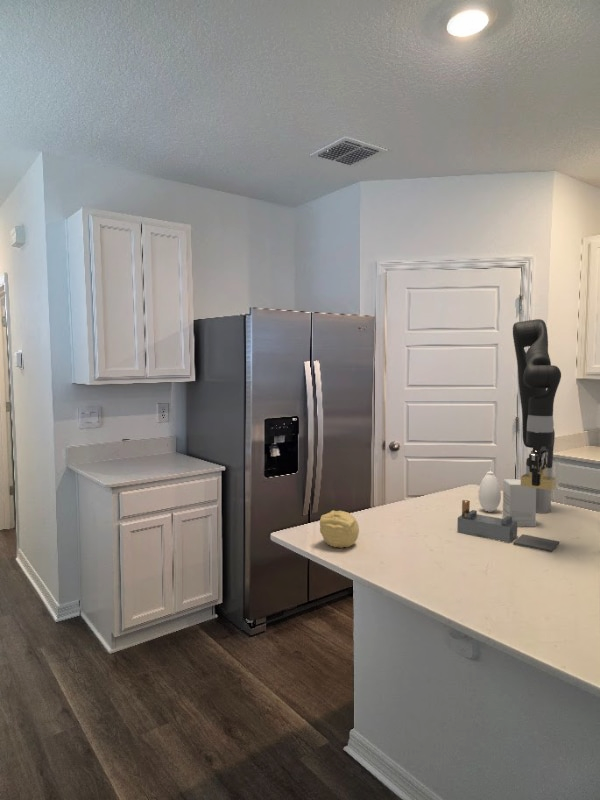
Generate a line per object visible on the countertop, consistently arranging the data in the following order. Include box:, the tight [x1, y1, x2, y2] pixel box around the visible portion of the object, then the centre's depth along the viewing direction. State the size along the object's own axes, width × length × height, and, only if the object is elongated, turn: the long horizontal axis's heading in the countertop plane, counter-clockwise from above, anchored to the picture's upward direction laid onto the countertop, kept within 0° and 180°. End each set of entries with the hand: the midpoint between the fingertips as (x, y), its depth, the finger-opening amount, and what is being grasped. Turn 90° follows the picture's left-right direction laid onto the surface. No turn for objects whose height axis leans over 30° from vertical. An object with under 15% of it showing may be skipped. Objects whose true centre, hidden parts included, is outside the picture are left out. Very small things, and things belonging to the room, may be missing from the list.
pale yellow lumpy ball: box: [319, 510, 360, 549], centre depth 164 cm, size 12×12×11 cm
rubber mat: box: [512, 533, 560, 553], centre depth 166 cm, size 10×11×1 cm
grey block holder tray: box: [456, 499, 518, 544], centre depth 175 cm, size 8×17×10 cm, turn 52°
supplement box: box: [502, 478, 537, 528], centre depth 188 cm, size 9×9×15 cm
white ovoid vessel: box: [478, 464, 502, 513], centre depth 202 cm, size 8×8×18 cm
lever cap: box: [520, 466, 557, 491], centre depth 165 cm, size 5×9×6 cm, turn 52°
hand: (538, 483), depth 165 cm, fingers closed on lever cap, 5 cm apart
